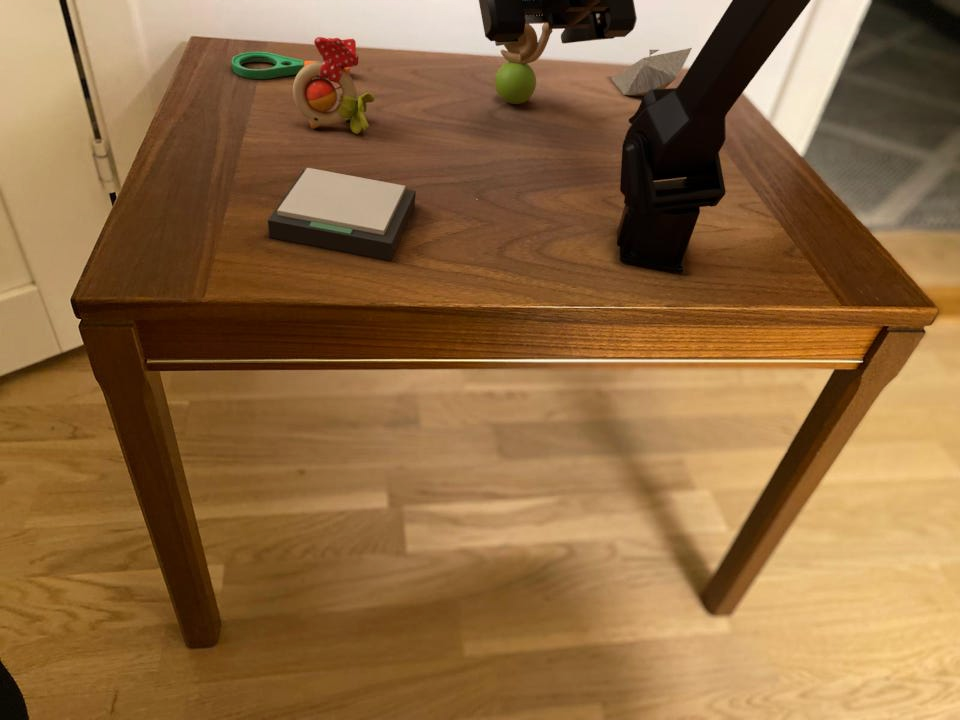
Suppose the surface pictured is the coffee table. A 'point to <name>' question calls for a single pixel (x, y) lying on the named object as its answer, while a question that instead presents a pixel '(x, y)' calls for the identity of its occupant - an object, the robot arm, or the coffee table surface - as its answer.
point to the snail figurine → (521, 65)
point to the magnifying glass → (281, 68)
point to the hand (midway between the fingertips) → (529, 40)
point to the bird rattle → (331, 86)
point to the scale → (343, 213)
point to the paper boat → (651, 72)
